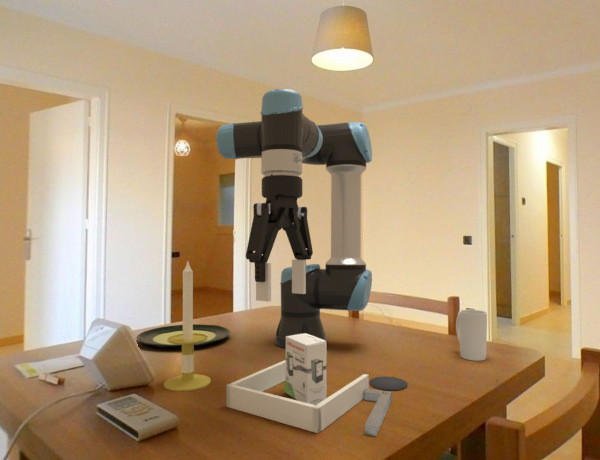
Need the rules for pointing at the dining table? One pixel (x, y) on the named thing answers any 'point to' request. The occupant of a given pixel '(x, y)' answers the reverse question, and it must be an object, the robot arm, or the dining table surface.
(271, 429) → the dining table surface
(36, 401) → the dining table surface
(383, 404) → the crook tool
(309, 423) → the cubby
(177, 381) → the candle
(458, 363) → the dining table surface
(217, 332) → the plate
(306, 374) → the ink box
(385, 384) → the dark grey disc
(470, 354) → the mug
